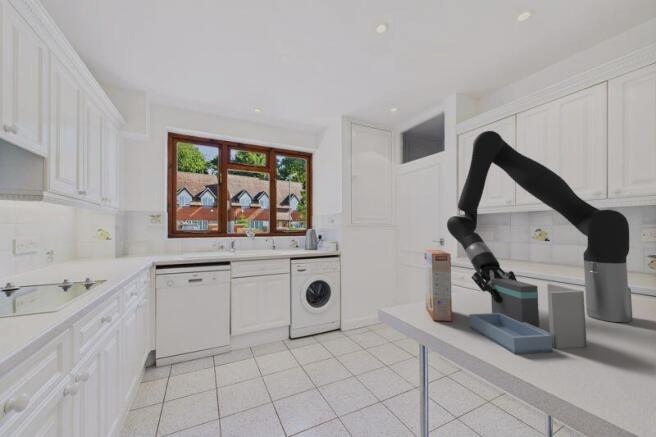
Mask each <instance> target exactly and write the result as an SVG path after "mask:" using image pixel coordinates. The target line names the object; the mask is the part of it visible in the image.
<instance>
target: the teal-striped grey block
mask: <svg viewBox="0 0 656 437" xmlns="http://www.w3.org/2000/svg"><path fill="white" fill-rule="evenodd" d="M492 280H493V284H494V286H495V289H497V291H498V292H499V294H500V296H501V297H502V299H503V301H502V302H501V303H497V302H496V301H495V300H494V299H493V297H492V296H491V295H490V296H491V297H490V298H491V300H490V301H491V313H501V314H503V315H505V316H508V317H510V318H512V319H514V320H517V321H519V322H521V323H523V322H526V323H528V324H530V325H533V326H535V327H537V328H540V315H539V291H538V290H539V289H538V285H535V284H532V283H527V282H523V281H518V280H517V281H515V280H511V279H507V278H494V279H492Z"/></svg>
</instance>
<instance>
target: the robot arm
mask: <svg viewBox="0 0 656 437" xmlns="http://www.w3.org/2000/svg"><path fill="white" fill-rule="evenodd" d="M471 154H472V155H471V160H470V166H469V170H468V173H467V177H466V180H465V183H464V185H463V187H462V190H461V193H460V197H459V200H458V203H457V209H458V210H459V211H462V212H464V216H458V215H454V216H451V217H449V218H448V220H447V222H446V228H447V230H448V233H449V234H450V235H451V237H453V238H454V239H456V241H457V242H458V243H460V245H461V247H462V248H463V249H464V251H465V253H466V255H467V257H468V259H469V262H470V263H471V265H472V266H473V269H474V270H475V272H474V273H473V274H472V276H471V279H472V280H473V281H474V283H475V284H476V285H477V287H478V288H479V289H480V290H481V291H482V292H487V293H488V294H490V296H492V297H493V299H494V300H495V301H496V302H497V303H501V302H502V301H503V299H502V297H501V296H500V294H499V292H498V291H497V289H495V286H494V284H493V280H492V279H494V278H507V279H511V280H515V281H518V280H517V277H516V275H515V272H513V271H512V270H510V271H509V272H507V271H505V270H503V269H502V268H501V266H500V262H499V261H498V258H497V257H495V255H494V253H493V252H492V250H491V249H490V247H489V246H488V245H487V244H486V243H485V241H484V240H483V239H482V237H481V236H480V234H478V233H477V232H475V231H476V229H477V225H478V208H479V205H480V202H481V200H482V197H483V193H484V189H485V185H486V181H487V176H488V173H489V170H490V167H491V166H492V164H494V165H496V166H497V167H499V168H500V169H501V170H503V172H505V173H506V174H507V175H508V176H509V177H510V178H511V179H512V180H513V181H514V182H515V183H516V184H517V185H518V186H520V188H522V189H523V190H525V191H526V192H527V193H529V194H530V195H531V196H532V197H535V198H536V199H537V200H538V201H540V202H542V203H543V204H545V205H546V206H548V207H550V208H551V209H552V210H554V211H556V212H557V213H558V214H560V215H561V216H562V217H564V219H566V220H567V221H568V222H569V223H571V225H572V226H574V227H575V228H576V230H578V231H579V232H580V233H581V234H583V236H586V237H587V246H586V249H585V251H583V271H584V286H585V288H584V289H585V305H586V306H585V307H586V309H585V312H586V315H587V316H588V317H591V318H594V319H596V320H600V321H606V322H614V323H629V322H631V321H633V319H634V318H633V302H632V290H631V288H630V287H629V281H628V266H627V265H628V264H627V257H628V255H629V253H630V224H629V221H628V219H627V217H626V216H625V215H624V214H623V213H621V212H619V211H617V210H613V209H599V208H597V207H594V206H593V205H592V204H590V203H588V202H586V201H585V200H583V199H582V198H581V197H579V196H578V195H577V194H576V193H575V192H574V190H573V189H572V188H571V187H570V185H569V184H568V183H567V182H566V181H565V179H564V178H562V177H561V176H560V175H559V174H557V173H556V172H554V171H552V170H551V169H550V168H548V167H547V166H545V165H544V164H542V163H540V162H539V161H536V160H534V159H532V158H530V157H528V156H526V155H523V154H522V153H520V152H518V151H517V150H515V148H513V147H512V146H511V145H510V144H508V143H507V141H506V140H505V139H503V137H502V136H501V135H500V134H499V133H498V132H497V131H493V130H486V131H483V132H481V133H479V134H478V135H477V136H476V137H475V139H474V140H473V143H472V153H471Z"/></svg>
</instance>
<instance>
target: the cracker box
mask: <svg viewBox="0 0 656 437" xmlns="http://www.w3.org/2000/svg"><path fill="white" fill-rule="evenodd" d="M451 260H452V258H451V253H449V252H446V251H443V250H440V249H426V250H424V278H425V279H424V280H425V281H424V282H425V308H426V310H427V312H428V314H429V316H430V317H431V318H432V321H437V322H438V321H439V322H453V306H452V305H453V304H452V302H453V301H452V299H453V298H452V265H451V264H452V261H451Z"/></svg>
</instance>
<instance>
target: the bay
mask: <svg viewBox="0 0 656 437" xmlns="http://www.w3.org/2000/svg"><path fill="white" fill-rule="evenodd" d="M547 303H548V304H547V306H548V323H549V326H548V328H549V332H548V331H546V330H544V329H542V328H540V327H539V328H537V327H535V326H533V325H530V324H528V323H526V322H523V323H524V324H526V325H528V326H530V327H533V328H535V329H537V330H539V331H542V332H544V333H546V334H549V335H551V336H552V349H554V350H555V349H558V350H559V349H574V348H587V330H586V329H587V328H586V309H585V307H586V306H585V293H584V290H583V291H582V290H578V289H576V288H575V289H574V288H570V287H565V286H562V285H557V284H552V283H547Z"/></svg>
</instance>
